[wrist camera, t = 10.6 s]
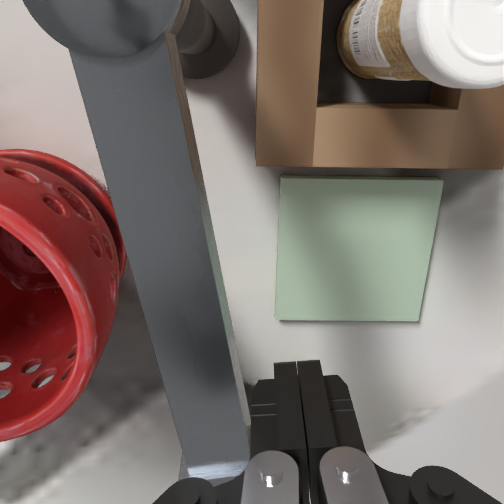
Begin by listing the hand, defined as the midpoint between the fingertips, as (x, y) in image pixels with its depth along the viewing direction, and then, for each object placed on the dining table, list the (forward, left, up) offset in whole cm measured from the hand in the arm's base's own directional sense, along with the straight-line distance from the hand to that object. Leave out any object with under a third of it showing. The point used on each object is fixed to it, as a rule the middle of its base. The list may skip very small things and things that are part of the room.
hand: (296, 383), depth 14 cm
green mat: (+5, -2, -16) cm, 17 cm away
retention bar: (-3, +4, 0) cm, 6 cm away
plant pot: (-15, -1, -16) cm, 22 cm away
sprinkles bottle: (+5, +11, -16) cm, 20 cm away
